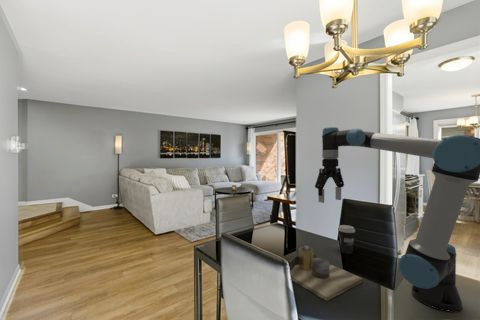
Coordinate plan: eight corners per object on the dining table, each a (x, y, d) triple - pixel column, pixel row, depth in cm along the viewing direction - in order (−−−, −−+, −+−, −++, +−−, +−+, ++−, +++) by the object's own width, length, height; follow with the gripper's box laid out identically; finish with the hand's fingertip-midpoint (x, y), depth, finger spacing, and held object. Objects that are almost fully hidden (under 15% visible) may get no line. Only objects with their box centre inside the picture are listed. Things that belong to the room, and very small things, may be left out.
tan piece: (316, 268, 114) (316, 250, 114) (307, 271, 111) (307, 253, 111) (305, 262, 120) (305, 245, 120) (296, 266, 116) (296, 248, 116)
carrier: (362, 281, 105) (362, 255, 105) (326, 301, 90) (326, 270, 90) (313, 259, 128) (313, 237, 128) (278, 272, 113) (278, 247, 113)
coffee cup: (339, 254, 135) (339, 228, 135) (336, 248, 144) (336, 224, 144) (357, 255, 133) (357, 229, 133) (353, 249, 142) (353, 225, 142)
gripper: (338, 158, 125) (338, 197, 125) (307, 158, 112) (307, 202, 112) (351, 158, 119) (351, 199, 119) (320, 158, 105) (320, 204, 105)
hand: (330, 201), depth 115 cm, fingers open, 13 cm apart
